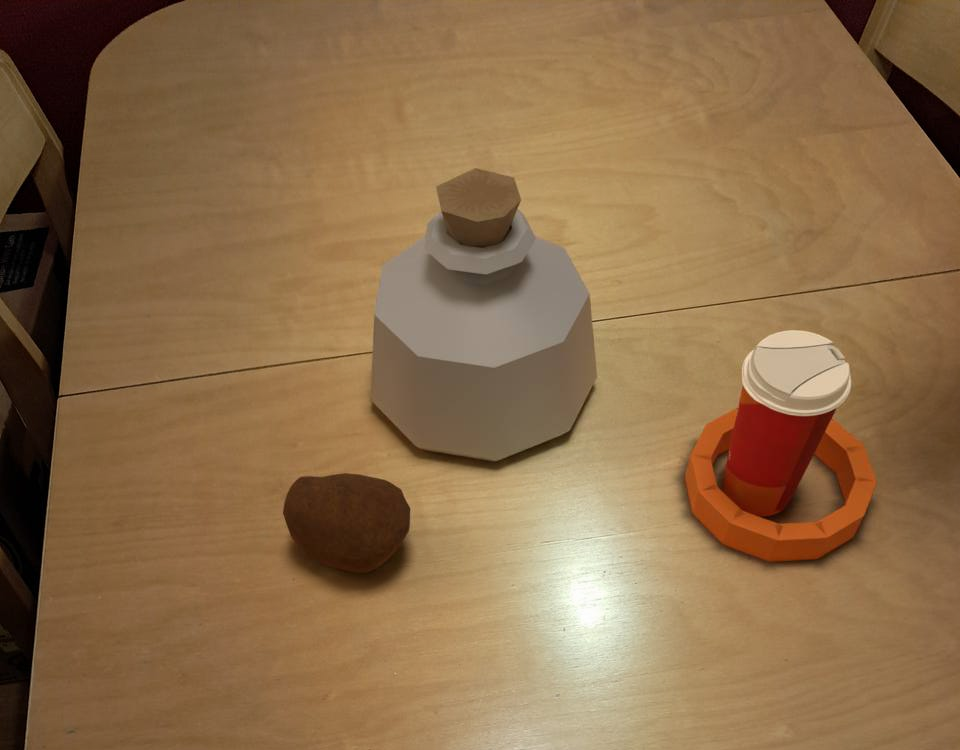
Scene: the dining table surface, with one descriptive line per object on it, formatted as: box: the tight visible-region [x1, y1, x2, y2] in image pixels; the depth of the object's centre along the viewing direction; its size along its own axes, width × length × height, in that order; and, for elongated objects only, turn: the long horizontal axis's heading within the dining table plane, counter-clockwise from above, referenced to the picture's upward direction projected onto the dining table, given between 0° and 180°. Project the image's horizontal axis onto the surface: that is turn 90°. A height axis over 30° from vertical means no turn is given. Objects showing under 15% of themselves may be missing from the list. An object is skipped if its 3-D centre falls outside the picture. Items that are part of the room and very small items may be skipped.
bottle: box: [370, 167, 598, 463], centre depth 79 cm, size 20×20×19 cm
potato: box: [282, 472, 411, 574], centre depth 74 cm, size 7×10×8 cm
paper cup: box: [722, 329, 852, 517], centre depth 74 cm, size 8×8×14 cm
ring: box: [684, 407, 878, 562], centre depth 79 cm, size 14×14×3 cm
